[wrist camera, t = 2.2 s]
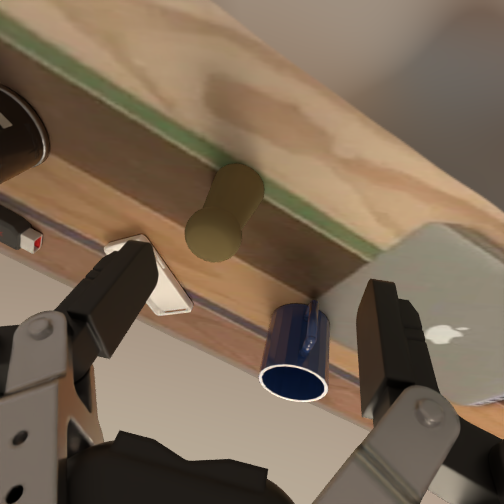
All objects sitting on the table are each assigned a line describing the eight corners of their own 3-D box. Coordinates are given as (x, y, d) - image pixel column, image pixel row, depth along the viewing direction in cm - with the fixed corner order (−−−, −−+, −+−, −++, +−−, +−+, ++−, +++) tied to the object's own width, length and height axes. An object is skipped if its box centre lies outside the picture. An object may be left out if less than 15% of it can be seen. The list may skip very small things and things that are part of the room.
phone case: (106, 242, 45) (160, 310, 53) (101, 248, 44) (156, 316, 52) (144, 233, 43) (195, 305, 50) (139, 238, 42) (192, 312, 49)
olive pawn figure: (209, 162, 34) (167, 214, 25) (263, 164, 32) (237, 219, 24) (216, 210, 37) (182, 269, 29) (265, 213, 36) (243, 275, 28)
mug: (318, 347, 50) (315, 408, 42) (265, 331, 51) (253, 389, 43) (348, 297, 42) (350, 362, 34) (285, 278, 42) (273, 339, 35)
